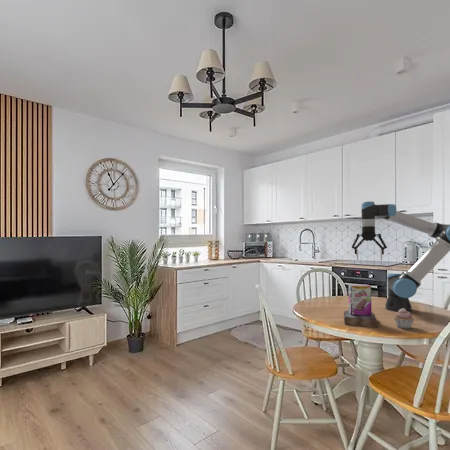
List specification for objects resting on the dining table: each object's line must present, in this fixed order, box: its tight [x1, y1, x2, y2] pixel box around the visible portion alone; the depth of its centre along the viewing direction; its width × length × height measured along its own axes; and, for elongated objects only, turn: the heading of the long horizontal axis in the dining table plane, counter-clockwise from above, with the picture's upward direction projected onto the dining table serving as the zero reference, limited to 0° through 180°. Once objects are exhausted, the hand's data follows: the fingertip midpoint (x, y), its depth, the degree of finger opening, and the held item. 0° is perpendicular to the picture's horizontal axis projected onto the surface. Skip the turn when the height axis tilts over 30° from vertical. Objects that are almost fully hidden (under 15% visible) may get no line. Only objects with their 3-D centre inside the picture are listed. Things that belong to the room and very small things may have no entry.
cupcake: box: [393, 308, 415, 330], centre depth 162 cm, size 9×9×10 cm
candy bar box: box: [348, 284, 372, 316], centre depth 173 cm, size 11×5×16 cm, turn 84°
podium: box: [343, 310, 378, 328], centre depth 173 cm, size 16×16×4 cm
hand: (369, 259), depth 196 cm, fingers open, 13 cm apart
